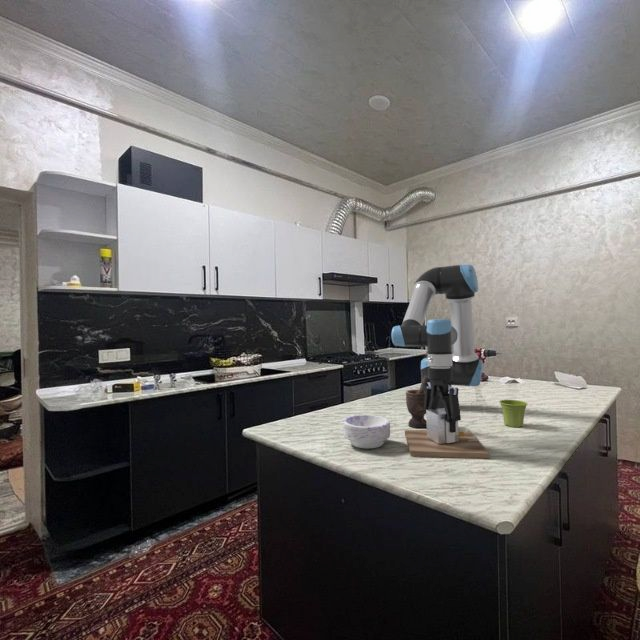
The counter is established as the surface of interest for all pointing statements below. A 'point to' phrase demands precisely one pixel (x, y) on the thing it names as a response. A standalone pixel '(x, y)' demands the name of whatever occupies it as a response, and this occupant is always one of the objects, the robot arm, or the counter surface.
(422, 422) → the mortar and pestle
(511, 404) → the plant pot
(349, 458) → the counter surface
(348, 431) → the paper bowls
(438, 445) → the board
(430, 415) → the grey block with bar
